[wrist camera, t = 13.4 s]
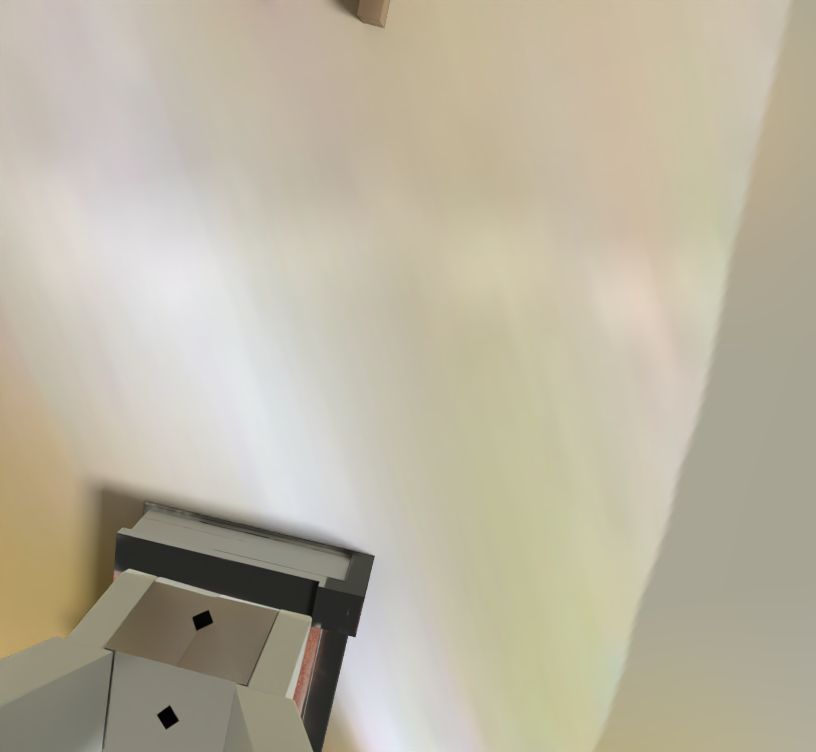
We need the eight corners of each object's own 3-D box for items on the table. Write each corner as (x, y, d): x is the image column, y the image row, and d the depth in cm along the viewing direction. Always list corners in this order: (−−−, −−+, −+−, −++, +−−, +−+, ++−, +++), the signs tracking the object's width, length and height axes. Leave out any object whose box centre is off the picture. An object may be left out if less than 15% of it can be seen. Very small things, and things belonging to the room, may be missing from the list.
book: (139, 496, 47) (102, 534, 42) (375, 552, 47) (364, 597, 42) (116, 760, 55) (83, 816, 51) (315, 808, 55) (300, 869, 50)
